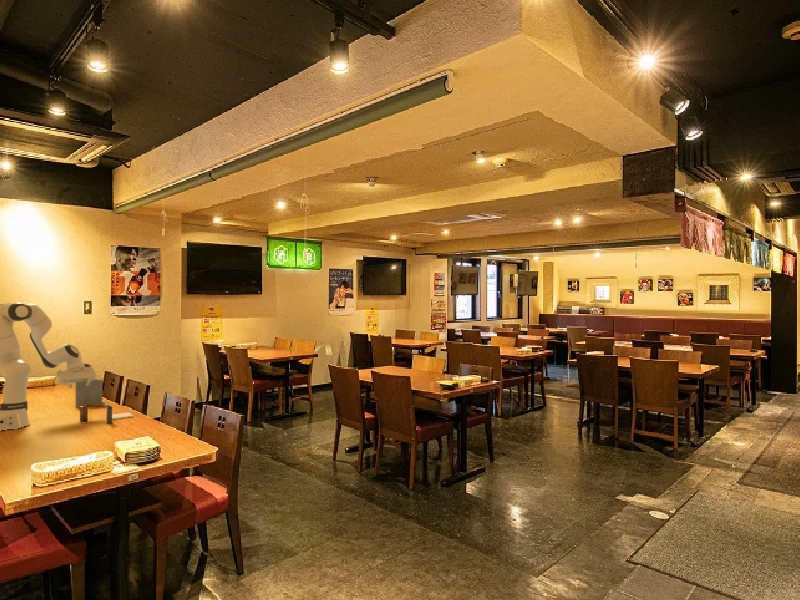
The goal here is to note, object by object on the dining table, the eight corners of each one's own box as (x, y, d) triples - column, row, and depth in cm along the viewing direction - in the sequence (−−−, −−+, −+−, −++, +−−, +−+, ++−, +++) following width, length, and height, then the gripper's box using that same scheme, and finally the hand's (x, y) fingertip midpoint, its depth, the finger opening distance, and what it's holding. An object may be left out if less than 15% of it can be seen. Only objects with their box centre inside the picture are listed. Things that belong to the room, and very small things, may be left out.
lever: (107, 423, 302) (107, 406, 302) (100, 418, 316) (100, 401, 316) (112, 423, 304) (112, 405, 304) (104, 418, 317) (104, 401, 317)
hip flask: (75, 407, 349) (75, 378, 349) (74, 406, 352) (75, 377, 352) (102, 404, 359) (102, 376, 359) (101, 403, 362) (101, 375, 363)
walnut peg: (80, 423, 304) (80, 408, 304) (79, 421, 307) (79, 406, 307) (88, 422, 307) (88, 407, 307) (86, 420, 310) (86, 406, 310)
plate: (112, 420, 312) (112, 418, 312) (107, 416, 321) (107, 415, 321) (133, 417, 320) (133, 415, 320) (128, 413, 329) (128, 412, 329)
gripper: (56, 367, 317) (59, 385, 309) (94, 364, 330) (98, 381, 323) (55, 374, 320) (58, 391, 313) (92, 370, 334) (96, 387, 327)
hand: (79, 386), depth 318 cm, fingers open, 8 cm apart
